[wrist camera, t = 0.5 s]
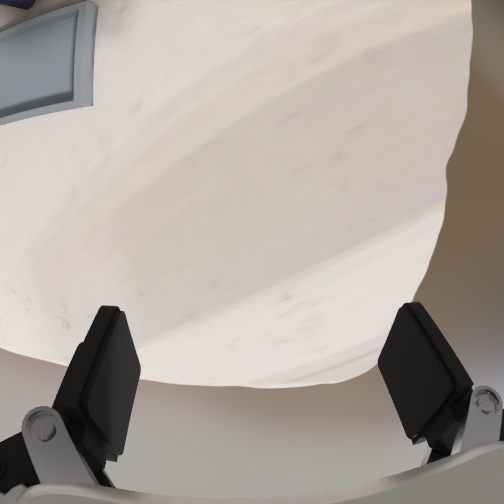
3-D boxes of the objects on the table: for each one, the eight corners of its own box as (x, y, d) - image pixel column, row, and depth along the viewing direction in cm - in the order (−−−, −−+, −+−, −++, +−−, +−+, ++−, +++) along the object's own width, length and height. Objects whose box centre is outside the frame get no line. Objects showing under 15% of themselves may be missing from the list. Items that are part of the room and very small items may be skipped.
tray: (-18, 48, 23) (-31, 48, 20) (98, 6, 25) (87, 0, 22) (-19, 130, 30) (-33, 135, 27) (93, 105, 31) (80, 107, 28)
